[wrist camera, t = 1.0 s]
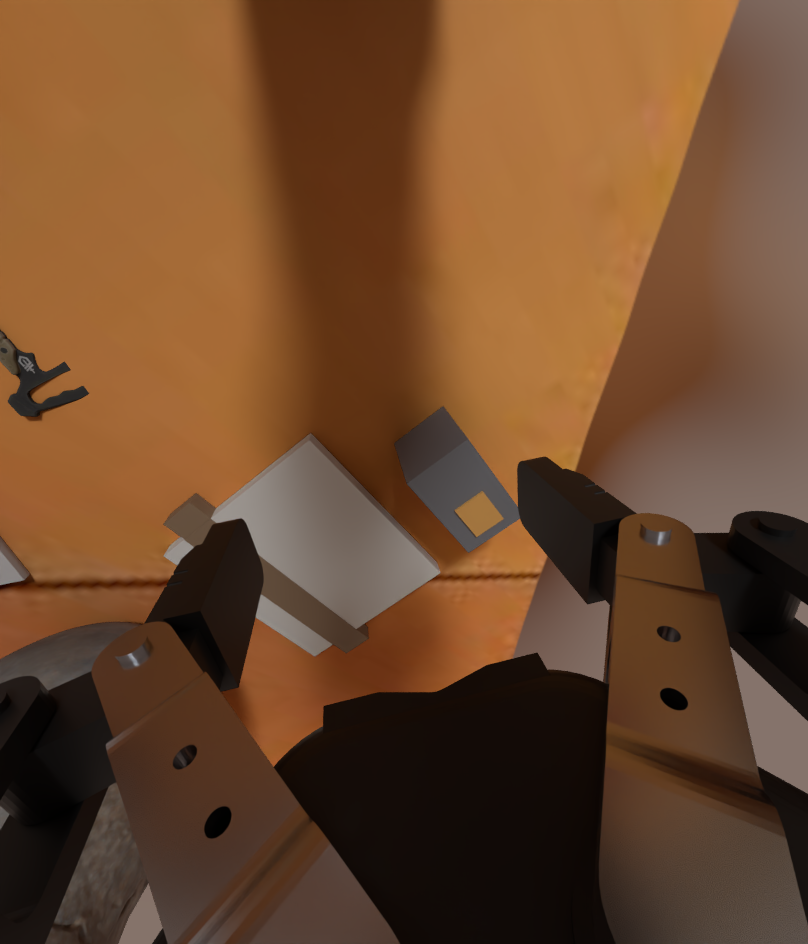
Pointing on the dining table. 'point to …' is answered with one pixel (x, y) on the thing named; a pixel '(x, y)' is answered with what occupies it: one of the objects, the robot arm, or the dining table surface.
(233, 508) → the board
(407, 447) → the block
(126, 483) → the dining table surface
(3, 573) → the baseboard molding
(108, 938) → the vase
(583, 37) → the dining table surface
